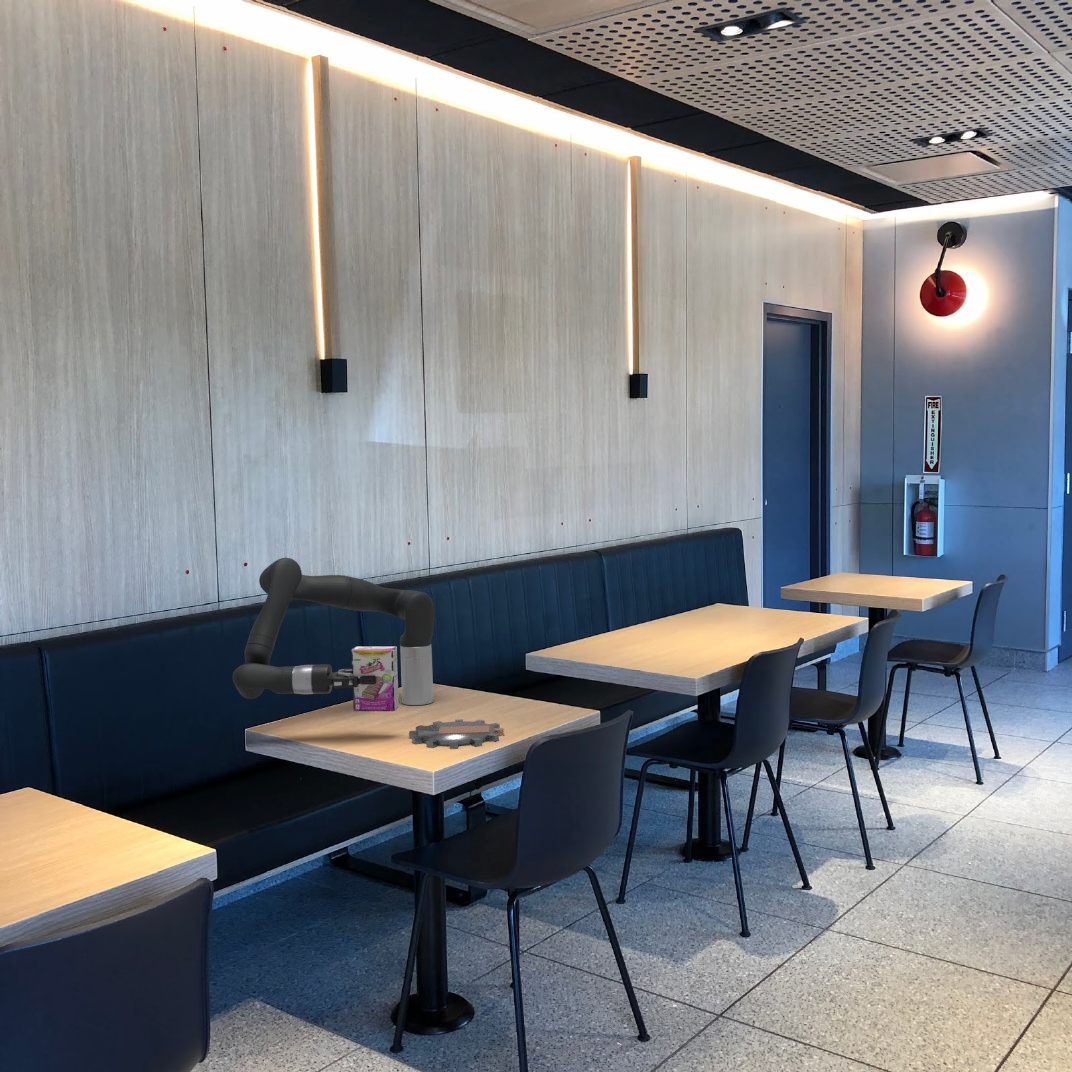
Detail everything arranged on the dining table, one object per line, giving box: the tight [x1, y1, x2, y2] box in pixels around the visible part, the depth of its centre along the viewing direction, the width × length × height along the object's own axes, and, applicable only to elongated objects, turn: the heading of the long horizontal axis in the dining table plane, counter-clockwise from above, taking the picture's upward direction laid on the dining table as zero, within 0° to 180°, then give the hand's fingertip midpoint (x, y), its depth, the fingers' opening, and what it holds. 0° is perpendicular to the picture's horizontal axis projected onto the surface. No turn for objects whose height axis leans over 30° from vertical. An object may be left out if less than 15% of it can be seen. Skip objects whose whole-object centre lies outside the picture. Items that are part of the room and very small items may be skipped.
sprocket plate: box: [408, 718, 505, 749], centre depth 289 cm, size 24×24×2 cm
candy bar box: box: [351, 645, 400, 712], centre depth 290 cm, size 11×5×16 cm, turn 85°
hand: (377, 677), depth 290 cm, fingers closed on candy bar box, 5 cm apart
